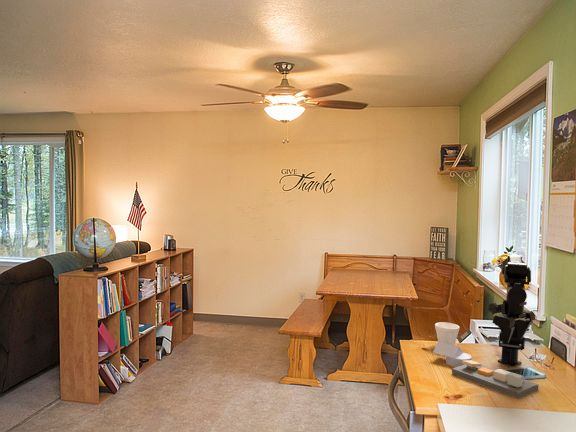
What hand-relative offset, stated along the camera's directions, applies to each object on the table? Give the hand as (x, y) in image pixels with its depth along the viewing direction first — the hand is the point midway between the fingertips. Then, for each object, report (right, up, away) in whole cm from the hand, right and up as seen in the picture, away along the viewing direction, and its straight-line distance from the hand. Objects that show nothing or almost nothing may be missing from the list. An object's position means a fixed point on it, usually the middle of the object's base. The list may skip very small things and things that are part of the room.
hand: (513, 341), depth 163 cm
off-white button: (-7, -11, -7) cm, 15 cm away
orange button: (-11, -12, -2) cm, 16 cm away
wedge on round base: (-16, -12, +14) cm, 25 cm away
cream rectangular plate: (-14, -9, +3) cm, 16 cm away
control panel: (-9, -13, -4) cm, 16 cm away
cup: (-13, -11, +33) cm, 37 cm away
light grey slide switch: (-5, -11, -12) cm, 17 cm away
